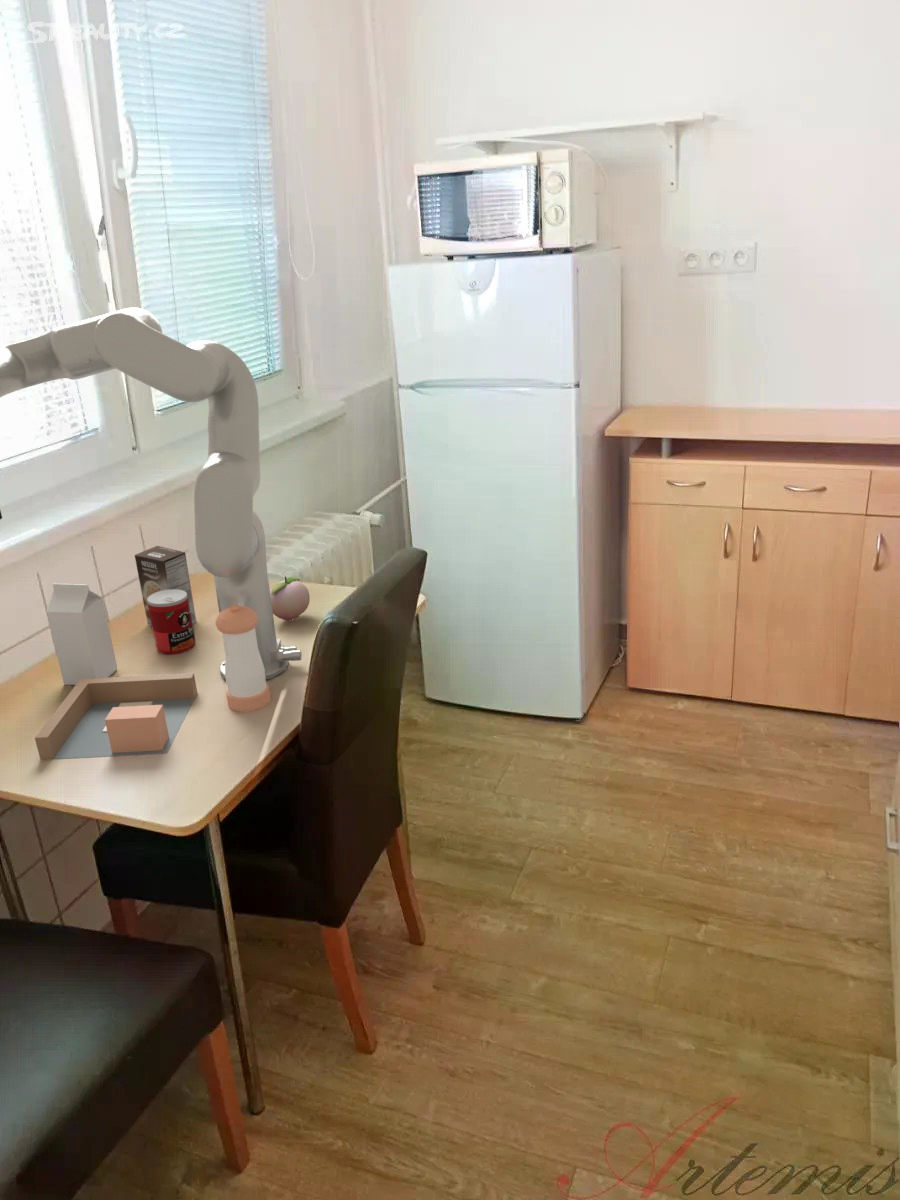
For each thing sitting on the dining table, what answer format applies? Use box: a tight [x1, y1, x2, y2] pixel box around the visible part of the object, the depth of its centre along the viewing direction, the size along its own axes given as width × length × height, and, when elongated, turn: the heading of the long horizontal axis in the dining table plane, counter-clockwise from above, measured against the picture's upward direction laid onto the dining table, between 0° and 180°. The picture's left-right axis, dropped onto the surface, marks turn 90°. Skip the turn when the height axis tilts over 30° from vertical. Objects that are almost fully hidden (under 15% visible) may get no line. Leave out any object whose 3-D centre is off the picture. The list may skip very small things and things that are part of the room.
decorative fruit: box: [270, 576, 311, 622], centre depth 192 cm, size 9×8×10 cm
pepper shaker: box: [215, 605, 271, 712], centre depth 156 cm, size 7×7×19 cm
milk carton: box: [45, 583, 118, 686], centre depth 170 cm, size 7×7×19 cm
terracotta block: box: [105, 705, 169, 753], centre depth 146 cm, size 8×4×6 cm, turn 91°
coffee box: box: [134, 545, 197, 627], centre depth 193 cm, size 9×6×16 cm
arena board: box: [34, 672, 198, 761], centre depth 153 cm, size 20×20×5 cm
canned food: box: [147, 589, 196, 655], centre depth 183 cm, size 8×8×11 cm
